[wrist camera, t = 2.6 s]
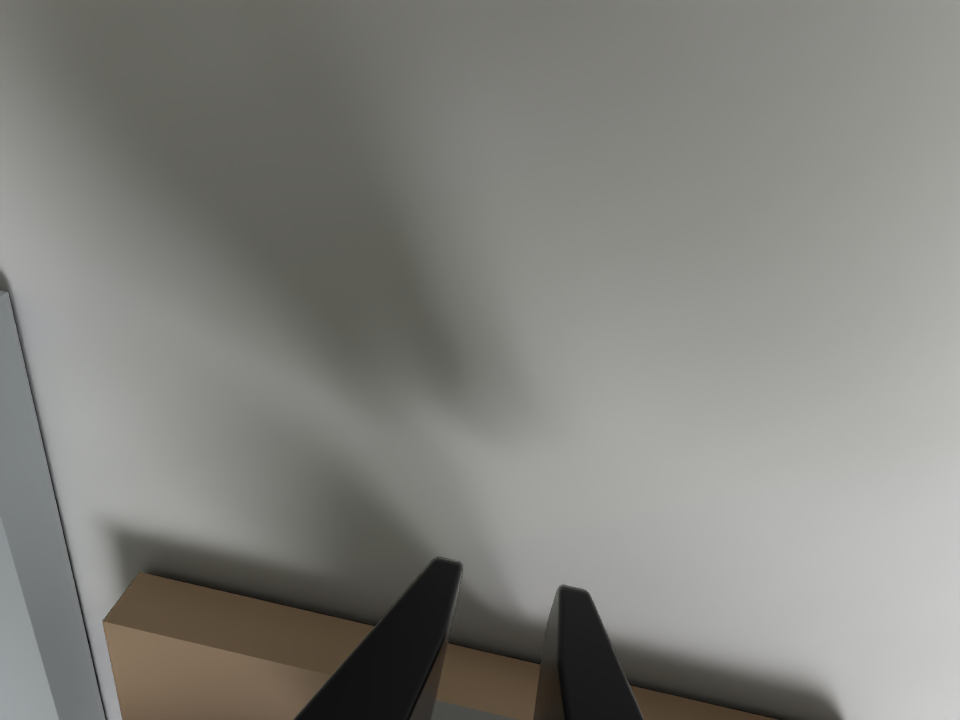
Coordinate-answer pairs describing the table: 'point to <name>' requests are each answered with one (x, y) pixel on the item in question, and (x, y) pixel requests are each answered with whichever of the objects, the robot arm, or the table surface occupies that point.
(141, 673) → the brown wooden frame
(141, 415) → the table surface
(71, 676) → the grey strip
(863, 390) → the table surface
